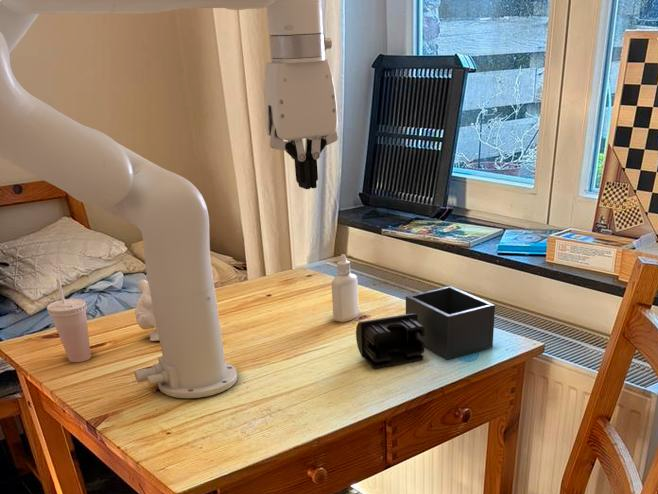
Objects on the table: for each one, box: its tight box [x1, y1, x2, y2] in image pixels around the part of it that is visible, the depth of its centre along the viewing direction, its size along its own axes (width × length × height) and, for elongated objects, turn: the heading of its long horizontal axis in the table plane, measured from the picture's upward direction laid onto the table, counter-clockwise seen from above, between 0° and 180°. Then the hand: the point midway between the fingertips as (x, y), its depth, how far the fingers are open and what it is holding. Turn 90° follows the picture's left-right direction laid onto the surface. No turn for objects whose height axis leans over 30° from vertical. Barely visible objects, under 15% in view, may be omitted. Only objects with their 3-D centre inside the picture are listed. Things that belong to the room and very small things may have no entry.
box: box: [405, 285, 496, 361], centre depth 129 cm, size 10×13×8 cm
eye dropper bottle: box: [331, 253, 360, 323], centre depth 140 cm, size 4×6×12 cm
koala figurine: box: [134, 279, 160, 342], centre depth 135 cm, size 8×7×12 cm
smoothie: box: [46, 277, 92, 363], centre depth 128 cm, size 6×6×14 cm
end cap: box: [355, 313, 425, 370], centre depth 125 cm, size 10×7×7 cm
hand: (307, 187), depth 115 cm, fingers closed
